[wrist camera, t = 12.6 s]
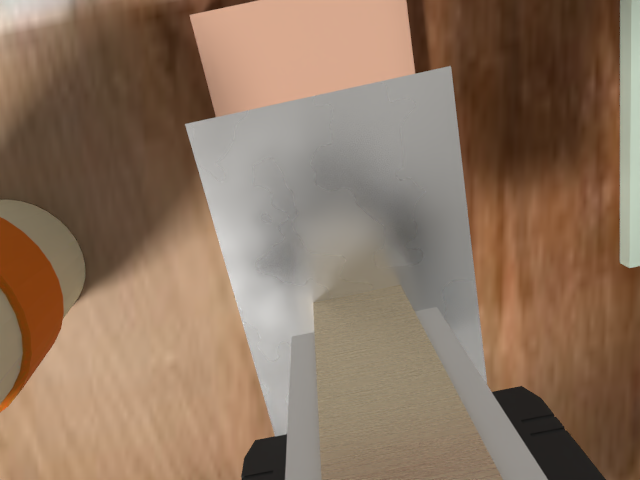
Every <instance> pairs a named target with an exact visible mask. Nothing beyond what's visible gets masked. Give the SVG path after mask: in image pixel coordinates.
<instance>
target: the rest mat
mask: <svg viewBox="0 0 640 480" xmlns="http://www.w3.org/2000/svg"><path fill="white" fill-rule="evenodd" d="M620 263H621V264H623V265H625V266H627V267H628V268H632V267H637V266H640V0H620Z"/></svg>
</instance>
